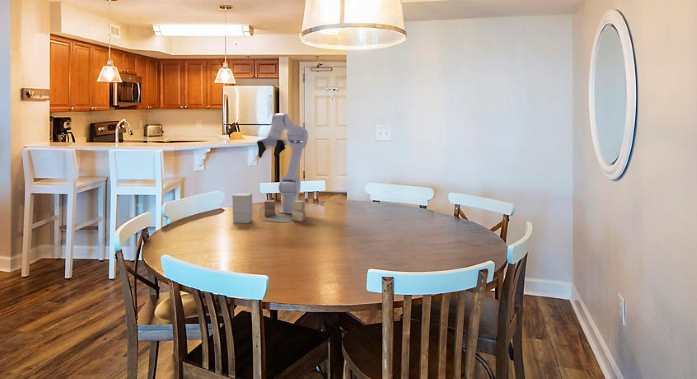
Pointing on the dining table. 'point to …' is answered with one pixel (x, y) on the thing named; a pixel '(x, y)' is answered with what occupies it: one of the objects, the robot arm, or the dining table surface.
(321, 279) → the dining table surface
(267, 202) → the walnut block
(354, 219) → the dining table surface
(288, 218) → the felt mat
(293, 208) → the maple block
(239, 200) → the supplement box
